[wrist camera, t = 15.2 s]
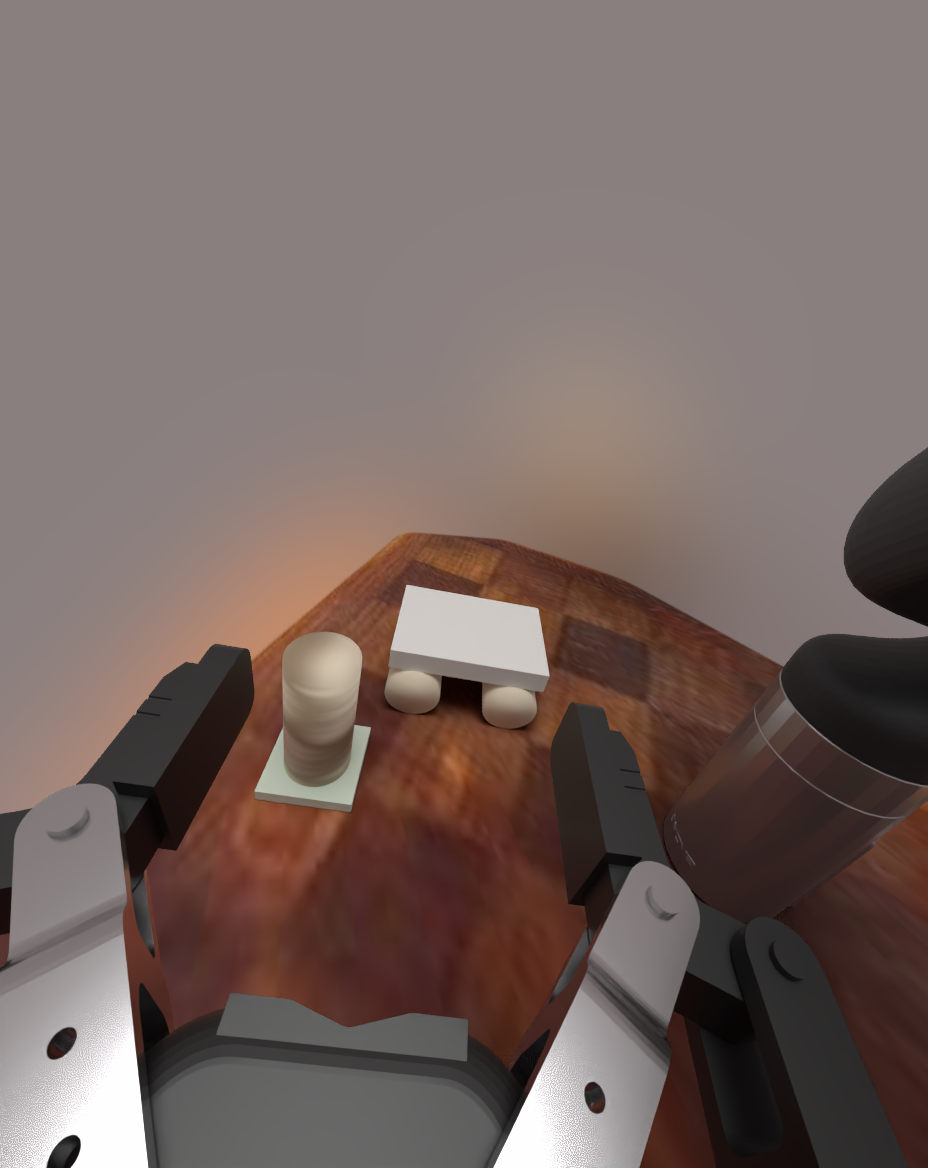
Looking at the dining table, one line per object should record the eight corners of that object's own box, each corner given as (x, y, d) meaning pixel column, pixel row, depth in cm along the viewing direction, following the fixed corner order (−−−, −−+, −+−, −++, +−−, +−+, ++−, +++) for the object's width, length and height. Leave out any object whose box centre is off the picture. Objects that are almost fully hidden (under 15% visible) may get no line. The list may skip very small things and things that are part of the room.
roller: (357, 736, 39) (369, 640, 32) (340, 792, 34) (350, 693, 28) (297, 725, 38) (299, 625, 32) (273, 780, 34) (269, 677, 28)
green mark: (370, 735, 40) (370, 727, 40) (350, 812, 34) (351, 805, 34) (288, 722, 40) (288, 714, 39) (255, 799, 34) (254, 791, 33)
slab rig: (520, 653, 53) (537, 605, 49) (528, 732, 44) (550, 680, 40) (399, 633, 52) (407, 582, 48) (381, 709, 43) (389, 653, 39)
